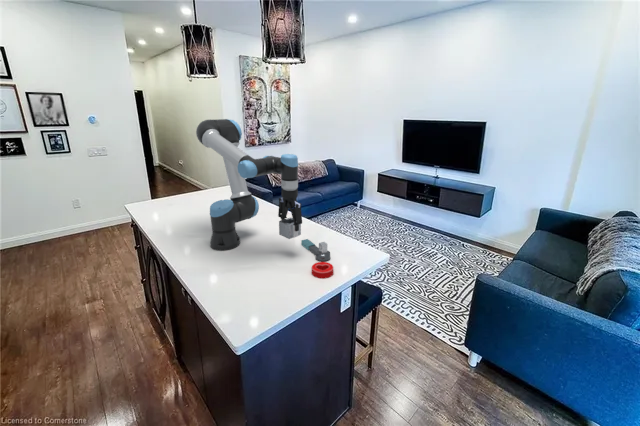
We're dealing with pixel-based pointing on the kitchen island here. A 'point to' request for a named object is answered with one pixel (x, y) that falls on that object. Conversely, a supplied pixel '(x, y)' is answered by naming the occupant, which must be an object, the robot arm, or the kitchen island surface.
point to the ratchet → (317, 250)
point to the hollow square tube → (287, 228)
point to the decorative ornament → (322, 270)
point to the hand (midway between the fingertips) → (290, 234)
